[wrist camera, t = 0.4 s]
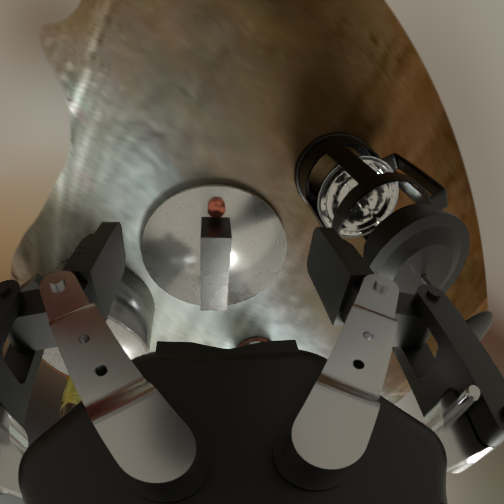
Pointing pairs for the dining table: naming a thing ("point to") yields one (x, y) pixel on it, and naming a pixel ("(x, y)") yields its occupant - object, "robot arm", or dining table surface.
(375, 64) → the dining table surface
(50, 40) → the dining table surface
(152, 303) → the cooker pot
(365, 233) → the french press
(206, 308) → the cooker lid
